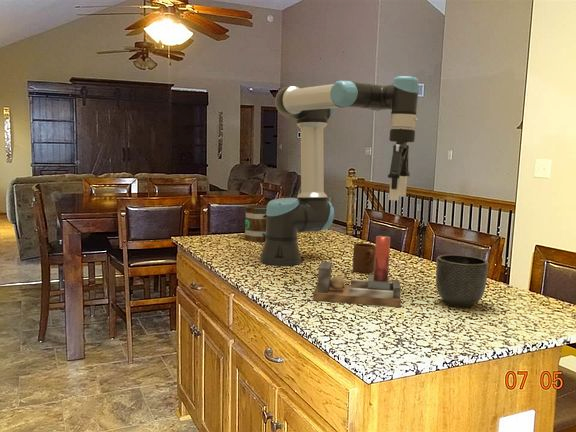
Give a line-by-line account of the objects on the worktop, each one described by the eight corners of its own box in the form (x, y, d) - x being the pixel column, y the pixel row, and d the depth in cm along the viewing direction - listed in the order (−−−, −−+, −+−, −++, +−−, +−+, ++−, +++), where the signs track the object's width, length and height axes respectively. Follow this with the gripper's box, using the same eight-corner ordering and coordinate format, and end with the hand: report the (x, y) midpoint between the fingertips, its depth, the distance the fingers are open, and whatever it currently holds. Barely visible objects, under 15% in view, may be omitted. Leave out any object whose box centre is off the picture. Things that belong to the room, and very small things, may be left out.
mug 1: (238, 237, 248) (239, 205, 246) (264, 236, 255) (265, 204, 253) (257, 245, 231) (258, 210, 229) (284, 243, 238) (286, 210, 236)
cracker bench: (313, 300, 151) (314, 268, 150) (317, 289, 163) (318, 260, 162) (399, 307, 148) (402, 275, 146) (397, 295, 159) (399, 265, 158)
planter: (478, 314, 144) (482, 267, 142) (427, 304, 151) (430, 259, 149) (489, 302, 156) (493, 258, 154) (441, 294, 163) (444, 252, 161)
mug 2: (382, 276, 182) (384, 249, 181) (361, 277, 181) (362, 249, 179) (369, 268, 194) (371, 243, 193) (349, 269, 192) (350, 243, 191)
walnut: (327, 289, 156) (327, 275, 155) (336, 287, 159) (337, 273, 158) (337, 292, 153) (337, 278, 152) (346, 290, 156) (347, 276, 155)
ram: (367, 294, 151) (370, 238, 149) (367, 287, 158) (370, 234, 156) (389, 296, 150) (392, 239, 148) (388, 289, 157) (391, 235, 155)
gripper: (408, 127, 151) (403, 202, 154) (420, 130, 174) (415, 196, 177) (382, 126, 153) (377, 200, 156) (397, 129, 176) (392, 194, 179)
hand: (397, 198), depth 166 cm, fingers open, 13 cm apart
